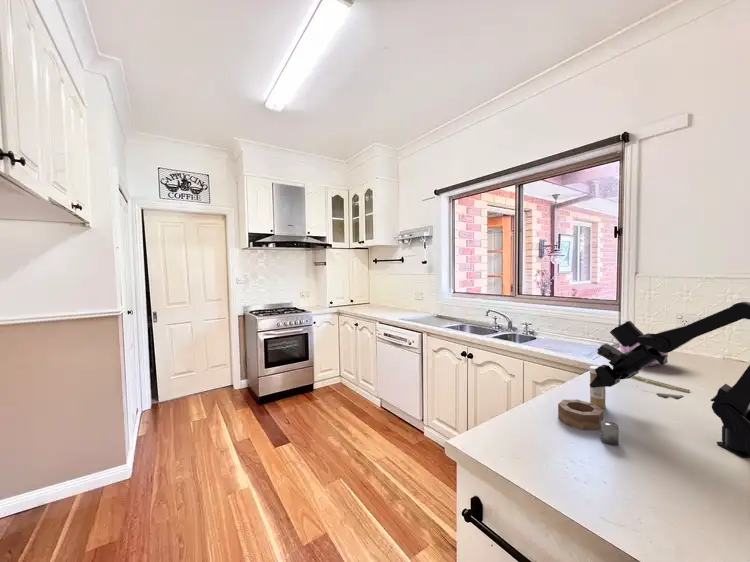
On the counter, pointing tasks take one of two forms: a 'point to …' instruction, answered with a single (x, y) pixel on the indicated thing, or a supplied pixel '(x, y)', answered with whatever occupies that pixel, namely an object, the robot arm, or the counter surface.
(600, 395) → the sprinkles bottle
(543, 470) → the counter surface
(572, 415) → the walnut collar
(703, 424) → the counter surface
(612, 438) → the short metal stub
